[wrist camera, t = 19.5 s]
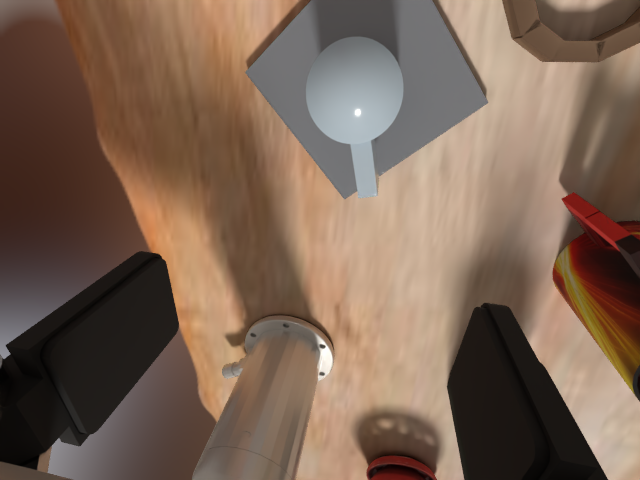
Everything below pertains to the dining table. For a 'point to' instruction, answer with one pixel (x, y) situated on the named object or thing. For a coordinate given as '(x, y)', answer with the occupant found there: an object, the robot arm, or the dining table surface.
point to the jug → (356, 100)
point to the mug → (604, 285)
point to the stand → (553, 47)
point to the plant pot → (398, 469)
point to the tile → (413, 59)
